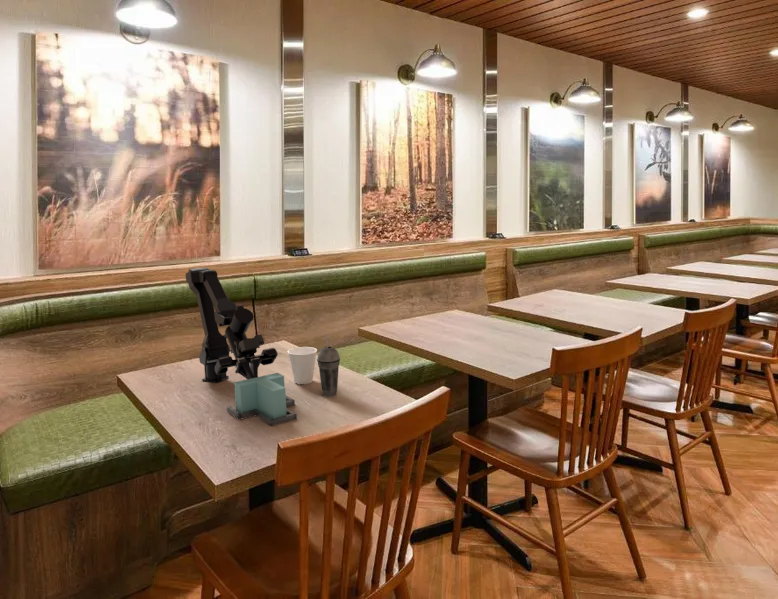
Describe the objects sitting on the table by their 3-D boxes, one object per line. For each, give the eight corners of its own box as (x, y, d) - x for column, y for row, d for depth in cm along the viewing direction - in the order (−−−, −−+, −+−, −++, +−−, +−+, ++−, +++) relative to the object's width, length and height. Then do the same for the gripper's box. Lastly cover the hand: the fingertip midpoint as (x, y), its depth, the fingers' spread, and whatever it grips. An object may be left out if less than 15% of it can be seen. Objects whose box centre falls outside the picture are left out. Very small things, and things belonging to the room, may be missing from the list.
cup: (312, 387, 190) (311, 355, 188) (284, 385, 192) (282, 353, 190) (322, 378, 200) (321, 347, 198) (294, 376, 202) (293, 346, 200)
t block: (236, 411, 170) (234, 382, 168) (278, 400, 179) (277, 372, 177) (257, 426, 159) (255, 395, 158) (302, 413, 168) (300, 384, 166)
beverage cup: (344, 392, 186) (343, 331, 182) (335, 399, 179) (333, 336, 175) (324, 389, 188) (322, 329, 184) (314, 397, 181) (311, 335, 178)
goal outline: (227, 411, 170) (226, 406, 170) (282, 397, 181) (281, 393, 181) (254, 430, 156) (254, 425, 156) (312, 414, 167) (311, 409, 167)
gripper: (215, 331, 169) (233, 377, 162) (273, 322, 180) (292, 364, 174) (207, 352, 176) (224, 396, 170) (263, 342, 188) (281, 383, 181)
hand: (256, 384), depth 173 cm, fingers closed, pressing on t block
